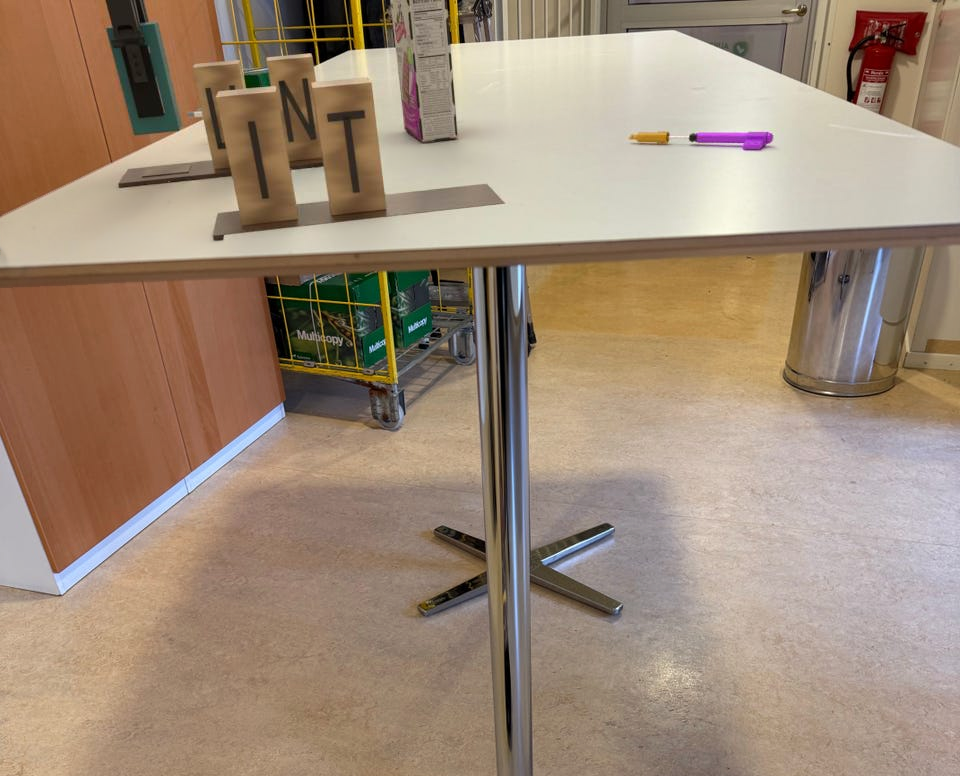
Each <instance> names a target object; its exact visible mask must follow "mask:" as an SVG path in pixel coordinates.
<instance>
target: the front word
mask: <svg viewBox="0 0 960 776" xmlns="http://www.w3.org/2000/svg"><path fill="white" fill-rule="evenodd" d="M311 88H312V94H313V101H314V107H315V114H316V120H317V127H318V134H319V140H320V147H321V153H322V160H323V166H322V167H323V173H324V180H325V186H326V192H327V199H328V200H325V201H323V200H322V201H316V202H315V201H314V202H306V203H297V199H296V193H295V187H294V182H293V175H292V171H291V170H292V169H290V164H289V158H288V152H287V146H286V140H285V135H284V129H283V123H282V117H281V111H280V106H279V100H278V94H277V88H276V86H271V85H270V86H262V87H260V86H259V87H249V89H238V90H228V91H218V93H217V95H216V101H217V106H218V111H219V116H220V121H221V125H222V130H223V135H224V140H225V145H226V149H227V154H228V159H229V164H230V169H231V173H232V175H231V178H232V182H233V187H234V192H235V197H236V201H237V206H238V210H234V211H233V210H232V211H225V212H217V215H216V219H215V224H214V229H213V232H212V233H213V234H212V239H213V241H221V240H225V236H226V235H227V236H228V235H236V234H237V235H238V234H247V233H253V232H263V231H271V230H281V229H290V228H299V227H307V226H308V227H309V226H315V225H326V224H334V223H335V224H336V223H344V222H353V221H361V220H371V219H378V218H389V217H397V216H405V215H406V216H407V215H416V214H423V213H424V214H425V213H433V212H441V211H450V210H460V209H468V208H478V207H486V206H495V205H496V206H497V205H504V204H506V201H505V202H504V200H503V199H502V198H501V197H500V196H499V195H498V194H497V193H496V192H495V191H494V190H493V189H492V187H491V186H489V184H488V183H480V184H470V185H462V186H461V185H460V186H452V187H443V188H442V187H441V188H434V189H425V190H424V189H423V190H415V191H406V192H398V193H396V192H395V193H389V194H386V193H385V185H384V176H383V169H382V158H381V150H380V142H379V134H378V125H377V117H376V109H375V102H374V101H375V99H374V91H373V82H372V81H371V80H370V78H369V77H366V76H364V77H355V78H344V79H343V78H342V79H333V80H324V81H316V82H312V83H311Z"/></svg>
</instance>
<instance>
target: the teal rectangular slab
mask: <svg viewBox="0 0 960 776" xmlns="http://www.w3.org/2000/svg"><path fill="white" fill-rule="evenodd" d="M140 25H141V29H142V34H143V36H144V38H145V42H144V43H145V45H148V49H149V53H150V57H151V62H152V66H153V70H154V74H155V78H156V82H157V86H158V90H159V94H160V99H161V103H162V107H163V111H164V116H158V117H148V118H139V117H138V113H137V109H136V106H135V102H134V98H133V94H132V90H131V86H130V82H129V79H128V75H127V71H126V67H125V63H124V59H123V55H122V52H121V48H113V46H112V43H111V40H115V38H114V35H113V32H114V31H113V27H112V25H110V26H108V27H105V30H106V33H107V38H108V42H109V45H110V50H111V54H112V57H113V61H114V64H115V69H116V72H117V76H118V79H119V83H120V89H121V91H122V95H123V98H124V103H125V106H126V111H127V114H128V118H129V121H130V125H131V129H132V133H133V136H143V135H152V134H153V135H154V134H164V133H173V132H180V131H181V129H182V127H183V123H182V118H181V114H180V109H179V106H178V101H177V96H176V93H175V88H174V85H173V84H174V83H173V80H172V76H171V71H170V66H169V61H168V58H167V54H166V50H165V45H164V41H163V38H162V33H161V28H160V24H159V21H149V22H148V23H140ZM143 46H144V45H143ZM122 48H123V47H122Z"/></svg>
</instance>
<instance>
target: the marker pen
mask: <svg viewBox="0 0 960 776" xmlns="http://www.w3.org/2000/svg"><path fill="white" fill-rule="evenodd" d="M628 139H629V140H635V141H637V143H656V144H668V143H669V142H670V139H677V140H679V139H680V140H681V139H682V140H684V139H687V140H688V141H689V142H691V143H694V142H695V143H697V144H742V150H761V148H765V147H766V146H767V145H768V144H771V143H773V141H774V134H772V133H771V132H769V131H748V132H707V131H705V132H704V131H703V132H696V133H694V132H692V133H689V136H687V135H686V136H683V135H680V136H679V135H673V136H672V135H670V131H668V130H667V131H665V130H664V131H663V130H662V131H660V130H659V131H657V132H656V131H655V132H654V131H653V132H651V131H650V132H649V131H639V132H637V134H631V135H630V136H629V137H628Z"/></svg>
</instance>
